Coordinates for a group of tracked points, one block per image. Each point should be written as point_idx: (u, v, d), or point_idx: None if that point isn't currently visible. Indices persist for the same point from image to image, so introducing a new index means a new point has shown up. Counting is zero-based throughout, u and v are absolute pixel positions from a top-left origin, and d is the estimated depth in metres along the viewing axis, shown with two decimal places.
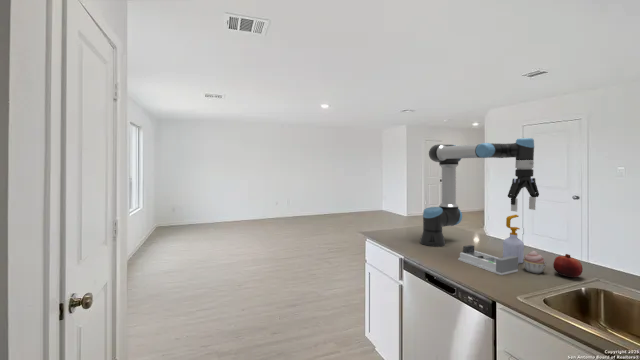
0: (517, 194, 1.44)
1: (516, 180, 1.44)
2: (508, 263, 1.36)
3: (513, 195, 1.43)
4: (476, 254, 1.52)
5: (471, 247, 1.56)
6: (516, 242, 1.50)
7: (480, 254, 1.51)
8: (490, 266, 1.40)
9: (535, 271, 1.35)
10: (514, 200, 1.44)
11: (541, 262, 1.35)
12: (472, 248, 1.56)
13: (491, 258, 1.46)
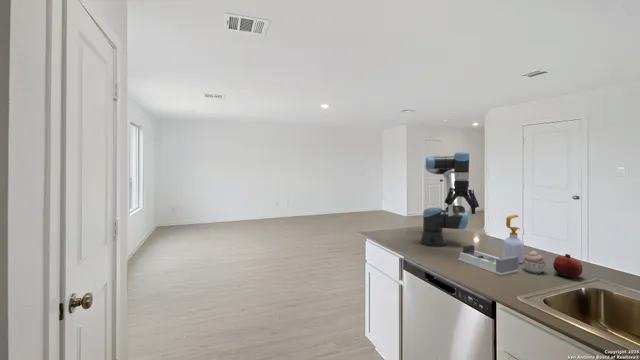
0: (449, 201, 1.67)
1: None
2: (508, 263, 1.36)
3: (445, 201, 1.70)
4: (476, 254, 1.52)
5: (471, 247, 1.56)
6: (516, 242, 1.50)
7: (480, 254, 1.51)
8: (490, 266, 1.40)
9: (535, 271, 1.35)
10: None
11: (541, 262, 1.35)
12: (472, 248, 1.56)
13: (491, 258, 1.46)
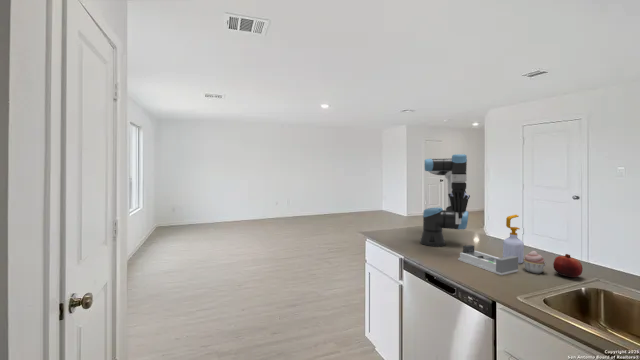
0: (455, 207, 1.63)
1: None
2: (508, 263, 1.36)
3: (452, 208, 1.64)
4: (476, 254, 1.52)
5: (471, 247, 1.56)
6: (516, 242, 1.50)
7: (480, 254, 1.51)
8: (490, 266, 1.40)
9: (535, 271, 1.35)
10: (455, 214, 1.63)
11: (541, 262, 1.35)
12: (472, 248, 1.56)
13: (491, 258, 1.46)
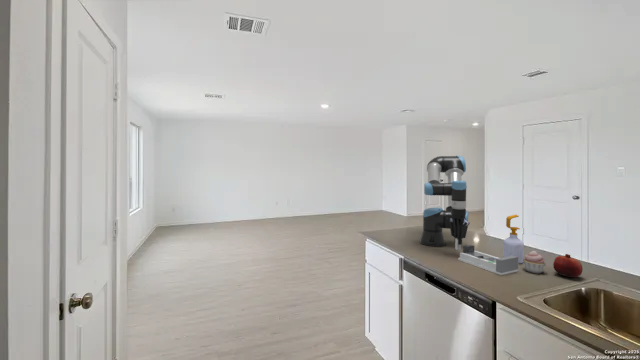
0: (455, 233, 1.63)
1: None
2: (508, 263, 1.36)
3: (452, 234, 1.65)
4: (476, 254, 1.52)
5: (471, 247, 1.56)
6: (516, 242, 1.50)
7: (480, 254, 1.51)
8: (490, 266, 1.40)
9: (535, 271, 1.35)
10: (455, 239, 1.64)
11: (541, 262, 1.35)
12: (472, 248, 1.56)
13: (491, 258, 1.46)
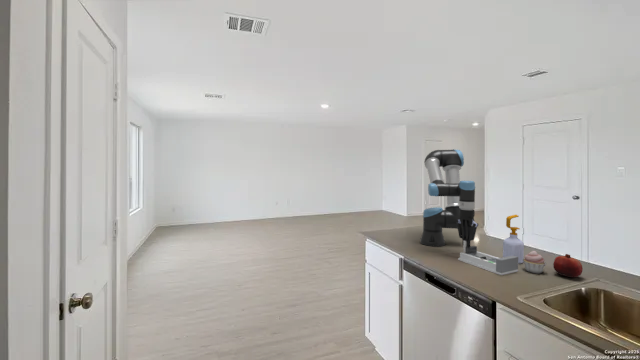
0: (463, 235, 1.58)
1: None
2: (508, 263, 1.36)
3: (460, 236, 1.60)
4: (479, 255, 1.50)
5: (473, 248, 1.55)
6: (516, 242, 1.50)
7: (483, 255, 1.49)
8: (490, 266, 1.40)
9: (535, 271, 1.35)
10: None
11: (541, 262, 1.35)
12: (474, 249, 1.55)
13: (494, 259, 1.45)
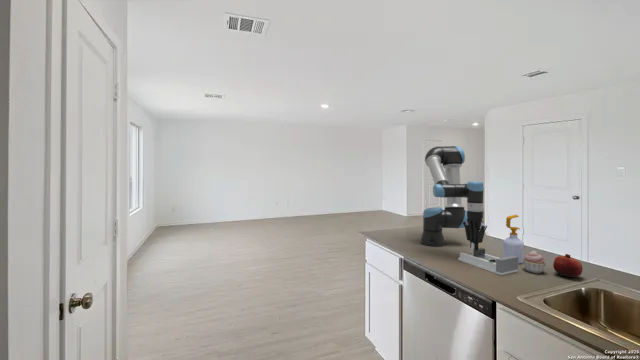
0: (471, 237, 1.54)
1: None
2: (508, 263, 1.36)
3: (467, 238, 1.56)
4: (488, 257, 1.46)
5: (482, 250, 1.50)
6: (516, 242, 1.50)
7: (492, 258, 1.45)
8: (490, 266, 1.40)
9: (535, 271, 1.35)
10: (471, 244, 1.54)
11: (541, 262, 1.35)
12: (483, 251, 1.51)
13: None
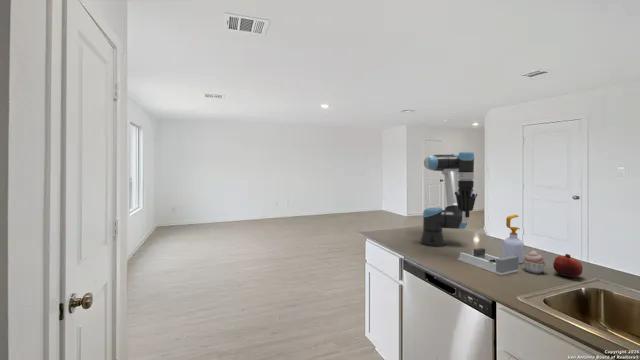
0: (462, 206, 1.59)
1: None
2: (508, 263, 1.36)
3: (459, 207, 1.61)
4: (488, 257, 1.46)
5: (482, 250, 1.50)
6: (516, 242, 1.50)
7: (492, 258, 1.45)
8: (490, 266, 1.40)
9: (535, 271, 1.35)
10: None
11: (541, 262, 1.35)
12: (483, 251, 1.50)
13: None
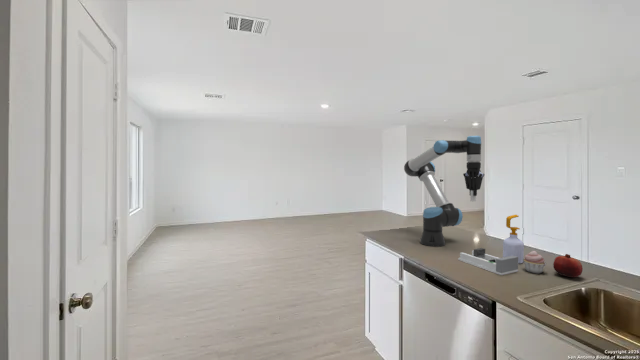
0: (470, 186, 1.74)
1: None
2: (508, 263, 1.36)
3: (467, 187, 1.76)
4: (488, 257, 1.46)
5: (482, 250, 1.50)
6: (516, 242, 1.50)
7: (492, 258, 1.45)
8: (490, 266, 1.40)
9: (535, 271, 1.35)
10: (470, 192, 1.75)
11: (541, 262, 1.35)
12: (483, 251, 1.50)
13: None
